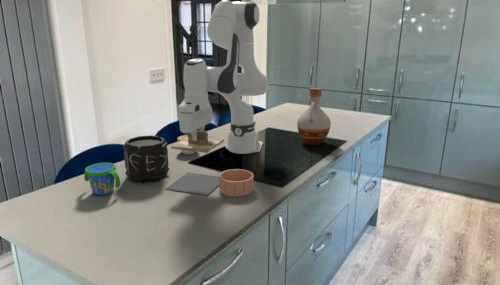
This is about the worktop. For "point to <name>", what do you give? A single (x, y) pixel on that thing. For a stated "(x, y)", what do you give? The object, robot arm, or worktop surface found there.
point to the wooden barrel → (146, 159)
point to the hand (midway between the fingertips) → (198, 138)
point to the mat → (195, 184)
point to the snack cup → (102, 178)
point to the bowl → (236, 182)
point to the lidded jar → (184, 150)
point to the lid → (198, 143)
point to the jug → (314, 121)
